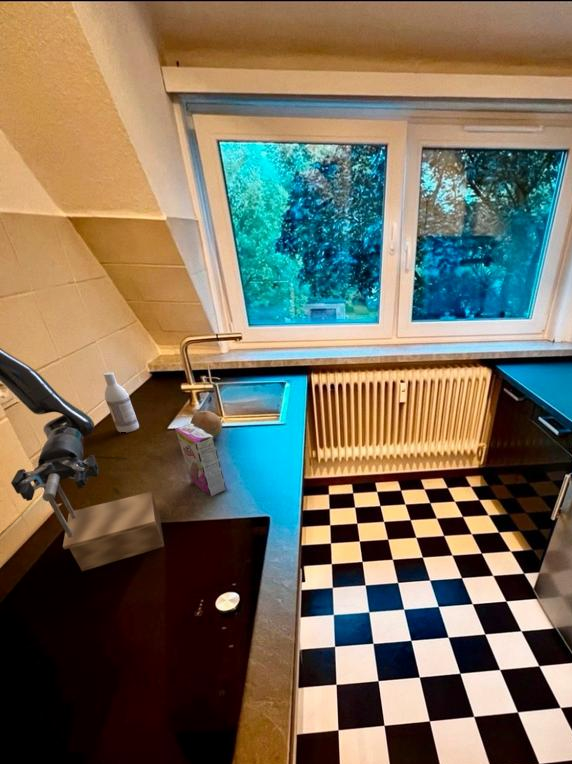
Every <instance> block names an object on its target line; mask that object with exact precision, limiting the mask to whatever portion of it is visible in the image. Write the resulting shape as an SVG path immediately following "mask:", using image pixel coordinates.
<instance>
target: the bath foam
mask: <svg viewBox="0 0 572 764" xmlns="http://www.w3.org/2000/svg"><path fill="white" fill-rule="evenodd" d="M103 377H104V380H105V383H106V388H105V391H104V399H105V402H106V405H107V407H108V410H109V412H110V413H109V414H110V415H111V418H112V421H113V423H114V425H115V428H116V430H117V432H119V433H121V432H126V433H128V434H129V433H132V432H135V431H137V430H138V429H139V428H140V424H139V421H138V419H137V415H136V413H135V410H134V407H133V404H132V402H131V398H130V395H129V394H128V392H127V390H126V389H125V388H124V387H123V386H121V385H120V384H119V383H118V382H117V379H116V376H115V373H114V372H113V371H107V372H104V373H103ZM126 433H125V434H126Z"/></svg>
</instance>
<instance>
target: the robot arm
mask: <svg viewBox="0 0 572 764" xmlns="http://www.w3.org/2000/svg"><path fill="white" fill-rule="evenodd" d="M0 382H1V383H2V384H3V385H4V386H5V387H6V388H7V389H8V390H9V391H10V392H11V393H12V394H13V395H14V396H15V397H16V398H17V399H18V400H19V401H20V402H21V403H22V404H23V405H24V406H26V408H27V409H28V410H29V411H30V412H32V414H35V415H38V416H40V415H47V414H50V413H58V414H60V416H58V417H56V418H54V419H51V420H49V421H48V422H47V423H46V424H45V425H43V434H44V435H45V436H46V439H47V440H46V441H45V443H44V444H43V446H42V449H41V451H40V455H39V456H38V457H39V458H38V462H37V464H38V465H37V466H36V467H35V468H34V469H33V470H29V471H26V469H25V468H21V469H18V470H17V472H16V473H15V474H14V477H13V478H12V479H11V482H10V484H11V486H12V488H13V489H14V491H15V493H16V494H17V495H19V494H20V496H21V498H22V499H23V500H26V502H30V501H32V500H33V498H34V496H35V492H36V491H37V490H38V489H45V487H46V483H47V480H48V476H49V475H50V474H53V473H55V474H58V475H59V476H60V479H59V481H60V480H61V481H62V480H66V479H74V482H75V484H76V487H77V489H79V490H81V489H84V486H86V485H87V484H88V480H89V479H90V478H89V477H93V478H95V477H96V478H97V477H98V476H99V475H100V471H99V464H98V461H97V459H96V457H95V455H94V454H89V455H88V456H87V458H85V459H84V457H85V451H84V446H85V438H87V437H89V436H91V435H92V434H93V433H94V432H95V423H94V421H93V419H92V418H91V417H90V416H89V415H88V414H87V413H85V412H84V411H83V410H81V409H80V408H78V407H76V406H75V405H74V404H72V403H71V402H69V401H68V400H67V399H65V398H63V396H61V394H59V393H58V392H57V391H56V390H55V389H54V388H53V386H51V384H50V383H49V382H47V380H46V379H45V378H44V377H43V375H41V374H40V373H39V372H38V371H37V370H36V369H34V368H33V367H31V366H30V365H29V364H27V363H25V362H24V361H22V360H20V359H19V358H17V357H15V356H14V355H12V354H10V353H9V352H7V351H5V350H4V349H3V348H2V347H0ZM85 467H86V468H85ZM32 482H33V483H34V484H33V485H32Z"/></svg>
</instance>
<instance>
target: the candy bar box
mask: <svg viewBox="0 0 572 764" xmlns="http://www.w3.org/2000/svg"><path fill="white" fill-rule="evenodd" d="M174 431H175V434H176V436H177V440H178V443H179V447H180V450H181V452H182V453H181V454H182V455H183V459H184V463H185V466H186V469H187V473H188V476H189V479H190V482H191V483H193V484H194V485H195V486H197V487H198V488H199V489H200V490H202V491H203V492H204V493H205V494H206V495H208V496H209V497H210V498H212V497H214V496H216V495H219V494H220V493H223V492H224V491H227V487H226V482H225V478H224V474H223V471H222V468H221V461H220V458H219V455H218V451H217V447H216V443H215V439H214V438H213V436H212V435H210V434H208V433H207V432H205V431H204V430H202V429H200V428H199V427H197V426H195V425H194V424H191V423H189V424H185V425H183V426H179V427H176V428H175V429H174Z"/></svg>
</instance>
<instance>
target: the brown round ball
mask: <svg viewBox="0 0 572 764" xmlns="http://www.w3.org/2000/svg"><path fill="white" fill-rule="evenodd" d="M190 424H194V425H195V426H197V427H199V428H200V429H202V430H204V431H205V432H207V433H208V434H210V435H212V436H213V438H214V440H215V439H217V438H219V436H220V435H221V434H222V430H223V422H222V420H221V418H220V417H219V416H218V415H217V414H216V413H214V412H212V411H210V410H199V411H196V412H195V413H193V415H192V417H191V420H190Z"/></svg>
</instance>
